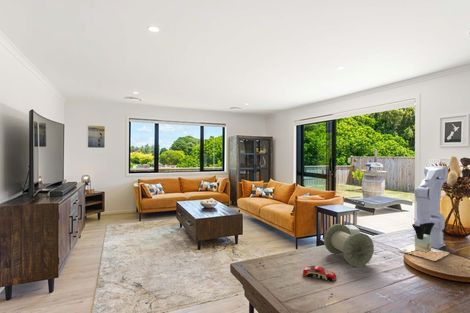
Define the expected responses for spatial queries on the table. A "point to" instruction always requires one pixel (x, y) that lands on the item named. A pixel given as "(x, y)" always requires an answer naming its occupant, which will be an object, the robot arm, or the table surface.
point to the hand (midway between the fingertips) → (423, 237)
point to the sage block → (425, 240)
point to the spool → (349, 244)
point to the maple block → (423, 247)
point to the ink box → (352, 229)
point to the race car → (318, 273)
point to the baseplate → (412, 248)
